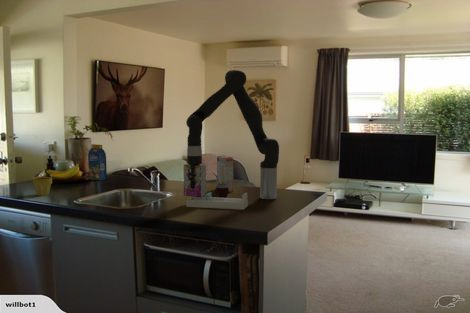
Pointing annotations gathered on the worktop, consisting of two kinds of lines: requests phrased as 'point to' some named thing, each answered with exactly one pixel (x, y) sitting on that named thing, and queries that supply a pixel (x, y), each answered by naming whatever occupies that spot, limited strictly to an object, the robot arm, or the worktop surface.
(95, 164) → the blue food package
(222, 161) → the cracker box
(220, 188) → the mate gourd
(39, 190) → the plant pot
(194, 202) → the pusher lane
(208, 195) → the pusher paddle
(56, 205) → the worktop surface
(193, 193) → the candy bar box
